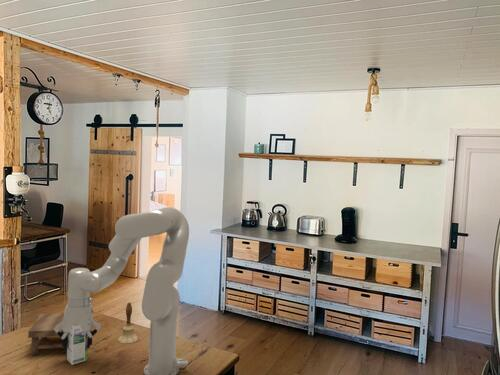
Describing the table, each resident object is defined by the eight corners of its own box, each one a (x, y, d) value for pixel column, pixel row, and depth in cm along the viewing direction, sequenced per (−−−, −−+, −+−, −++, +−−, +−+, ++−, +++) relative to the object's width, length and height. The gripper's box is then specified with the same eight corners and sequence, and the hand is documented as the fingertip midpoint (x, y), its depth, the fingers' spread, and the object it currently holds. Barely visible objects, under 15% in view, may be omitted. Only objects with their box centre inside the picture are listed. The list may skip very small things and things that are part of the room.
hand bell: (114, 342, 166) (115, 305, 166) (123, 334, 174) (125, 299, 174) (132, 345, 165) (134, 307, 164) (141, 337, 173) (142, 301, 172)
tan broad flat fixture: (85, 335, 172) (86, 312, 171) (78, 354, 154) (79, 328, 154) (40, 337, 167) (40, 314, 167) (27, 357, 150) (28, 331, 149)
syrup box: (71, 365, 145) (72, 326, 145) (66, 359, 150) (67, 321, 149) (87, 361, 149) (88, 323, 149) (81, 355, 154) (82, 318, 153)
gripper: (104, 297, 154) (102, 341, 155) (55, 299, 150) (54, 344, 151) (102, 304, 147) (100, 350, 148) (51, 305, 143) (49, 353, 144)
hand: (77, 347), depth 149 cm, fingers closed on syrup box, 7 cm apart
